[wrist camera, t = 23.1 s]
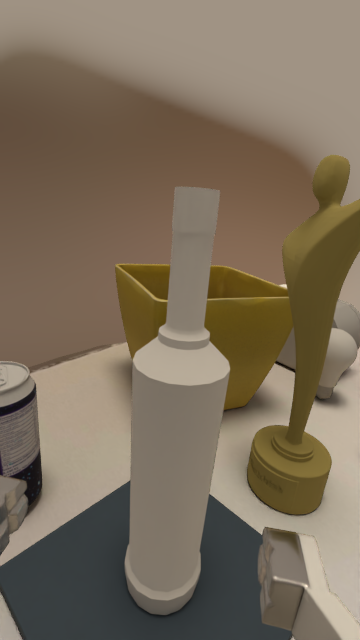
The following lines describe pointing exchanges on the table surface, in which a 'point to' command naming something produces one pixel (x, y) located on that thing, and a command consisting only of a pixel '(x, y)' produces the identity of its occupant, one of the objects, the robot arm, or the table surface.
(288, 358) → the alarm clock
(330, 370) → the lightbulb
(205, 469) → the bottle
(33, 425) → the beverage can
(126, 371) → the table surface
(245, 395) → the flower pot
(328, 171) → the sculpture
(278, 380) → the table surface
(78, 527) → the slate mat
